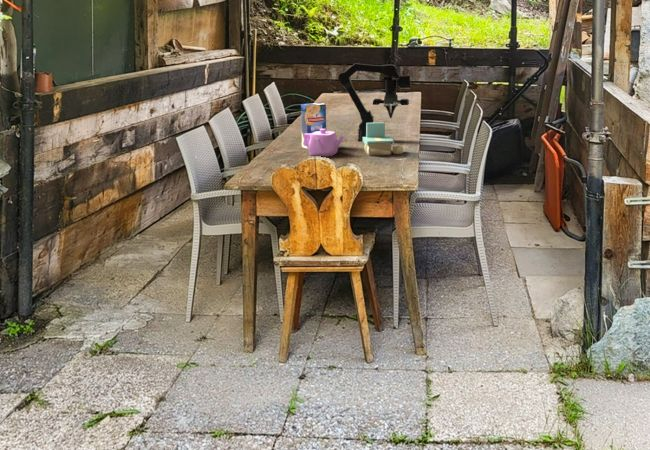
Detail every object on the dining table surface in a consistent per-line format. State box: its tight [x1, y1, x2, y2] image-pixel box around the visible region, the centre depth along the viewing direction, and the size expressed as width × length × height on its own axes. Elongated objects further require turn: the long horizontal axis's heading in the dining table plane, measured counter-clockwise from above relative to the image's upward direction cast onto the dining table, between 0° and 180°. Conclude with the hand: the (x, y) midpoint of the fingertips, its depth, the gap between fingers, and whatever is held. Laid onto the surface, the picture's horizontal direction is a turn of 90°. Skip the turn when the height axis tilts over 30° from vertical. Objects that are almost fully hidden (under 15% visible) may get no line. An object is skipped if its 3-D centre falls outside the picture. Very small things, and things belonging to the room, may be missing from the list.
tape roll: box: [392, 145, 404, 155], centre depth 417 cm, size 5×5×3 cm
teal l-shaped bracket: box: [362, 121, 395, 146], centre depth 415 cm, size 14×13×9 cm
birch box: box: [363, 142, 392, 157], centre depth 417 cm, size 14×11×6 cm
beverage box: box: [300, 102, 327, 149], centre depth 436 cm, size 7×11×22 cm, turn 118°
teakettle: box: [303, 128, 346, 157], centre depth 417 cm, size 17×17×12 cm
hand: (390, 118), depth 452 cm, fingers closed
